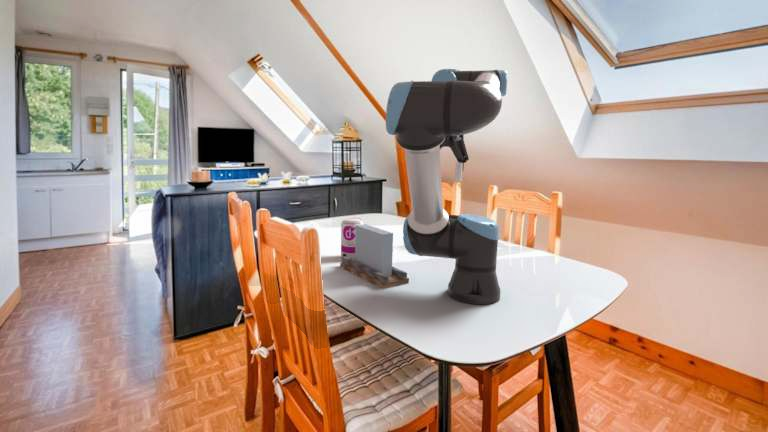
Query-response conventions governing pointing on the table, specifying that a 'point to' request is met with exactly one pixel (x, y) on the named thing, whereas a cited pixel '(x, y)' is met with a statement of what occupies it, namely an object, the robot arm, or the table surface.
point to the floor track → (375, 274)
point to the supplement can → (349, 236)
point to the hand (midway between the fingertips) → (444, 181)
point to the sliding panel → (374, 248)
